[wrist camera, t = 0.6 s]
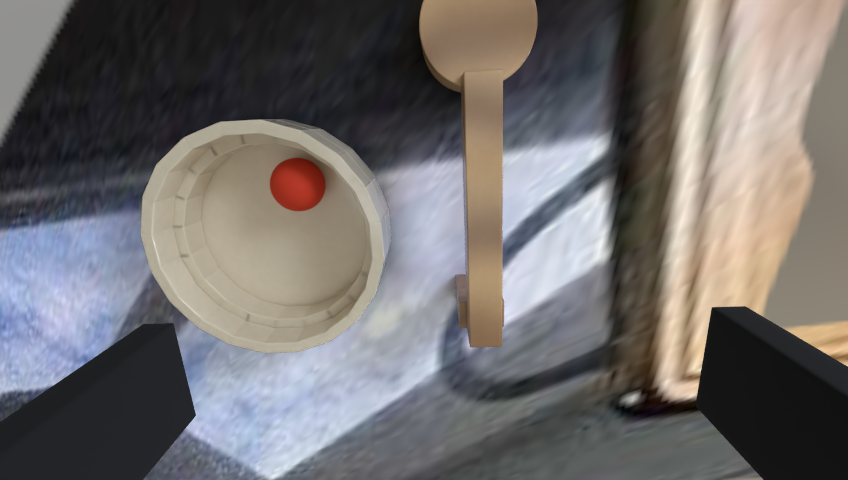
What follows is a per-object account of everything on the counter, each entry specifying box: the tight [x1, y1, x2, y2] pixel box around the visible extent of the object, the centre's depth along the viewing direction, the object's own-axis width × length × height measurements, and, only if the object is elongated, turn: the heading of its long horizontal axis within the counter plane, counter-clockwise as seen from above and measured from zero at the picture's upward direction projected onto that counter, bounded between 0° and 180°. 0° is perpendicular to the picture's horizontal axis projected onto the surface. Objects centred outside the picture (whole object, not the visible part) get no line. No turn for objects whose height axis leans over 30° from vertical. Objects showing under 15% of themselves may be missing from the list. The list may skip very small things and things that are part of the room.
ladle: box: [419, 0, 537, 347], centre depth 25 cm, size 22×6×7 cm, turn 3°
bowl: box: [140, 119, 391, 353], centre depth 28 cm, size 16×16×5 cm
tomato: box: [270, 158, 326, 211], centre depth 27 cm, size 4×4×4 cm
